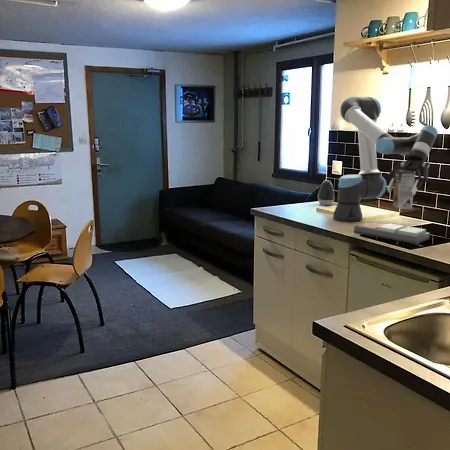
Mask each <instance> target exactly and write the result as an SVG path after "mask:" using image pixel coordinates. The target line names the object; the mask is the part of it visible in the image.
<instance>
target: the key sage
mask: <svg viewBox="0 0 450 450" xmlns="http://www.w3.org/2000/svg"><path fill="white" fill-rule="evenodd" d="M426 232H427V228H426V229H425V228H420V227H413V226H405V228H403V229H400V230H398V234H403V235H408V236H414V237H417V236H420V235H422V234H425V233H426Z"/></svg>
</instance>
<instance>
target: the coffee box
mask: <svg viewBox="0 0 450 450" xmlns="http://www.w3.org/2000/svg"><path fill="white" fill-rule="evenodd" d="M415 178H416V171H415V172H413V171H409V170H395V177H394V187H393V193H392V195H393V197H392V206H393V207H395V208H396V209H398V210H399V209H400V210H403V209H405V210H412V209H413V203H414V195H413V194H412V192H411V190H412V188H413V186H414V184H415V182H416V179H415Z"/></svg>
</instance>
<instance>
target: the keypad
mask: <svg viewBox="0 0 450 450" xmlns="http://www.w3.org/2000/svg"><path fill="white" fill-rule="evenodd" d="M366 223H370V222H364V223H361V224H358V225H355V226H354V227H353V229H354V230H353V233H354V234H360V235H365V236H370V237H375V238H381V239H385V240H390V239H392V241H396V240H398V241H397V242H401V241H403V243H406V242H407V243H408V244H413V245H419V244H421V243H424V242H427V241H428V240H430V236H431V235H430V234H431V233H430V232H428V231H426V233H425V234H422V235H420V236H417V237H414V236H408V235H403V234H398V232H396V233H392V232H386V231H380V230H377V229H369V228H363V227H358V226H359V225H363V224H366Z"/></svg>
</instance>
